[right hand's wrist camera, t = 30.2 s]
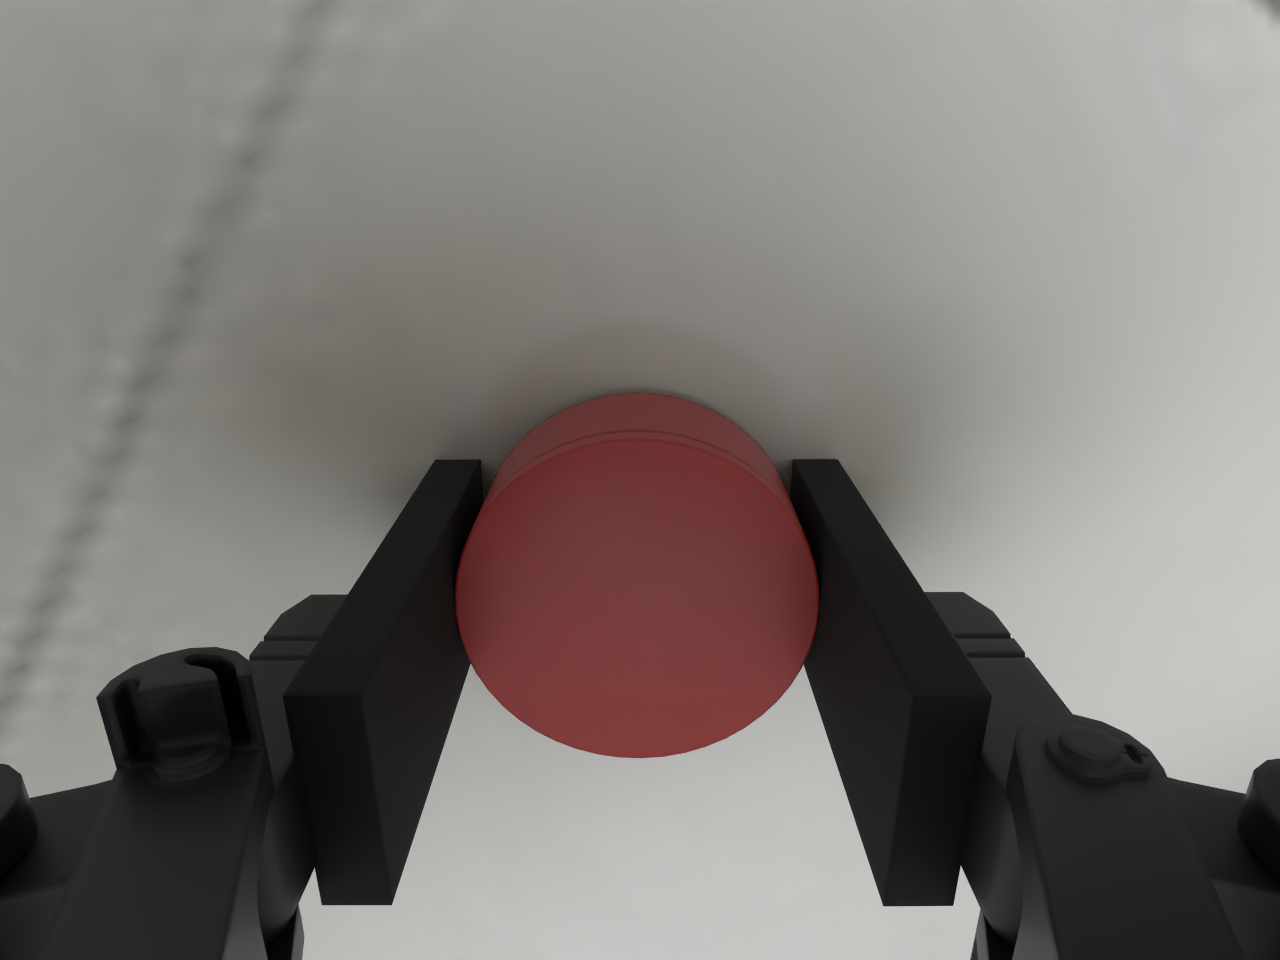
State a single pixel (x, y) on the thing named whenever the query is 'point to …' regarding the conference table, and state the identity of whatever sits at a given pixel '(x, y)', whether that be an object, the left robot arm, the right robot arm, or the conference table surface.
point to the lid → (637, 579)
